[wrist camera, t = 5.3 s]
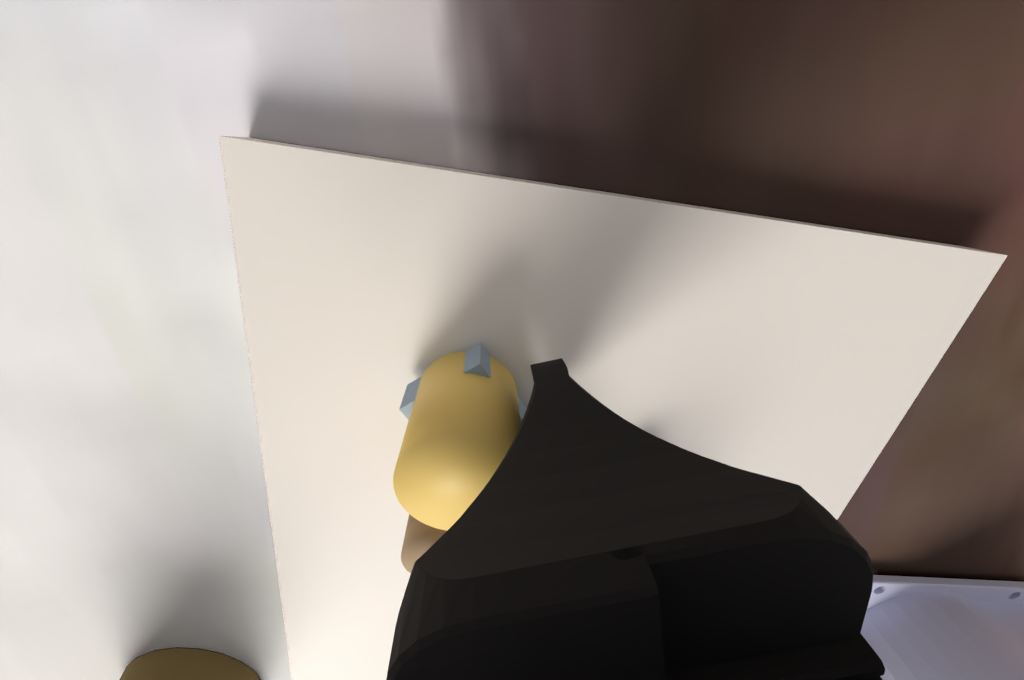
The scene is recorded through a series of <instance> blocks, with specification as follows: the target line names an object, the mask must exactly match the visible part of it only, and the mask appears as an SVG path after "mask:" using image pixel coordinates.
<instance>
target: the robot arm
mask: <svg viewBox="0 0 1024 680" xmlns="http://www.w3.org/2000/svg"><path fill="white" fill-rule="evenodd" d="M530 367H531V371H532V376H533V381H534V386H533V390H532V394H531V397H530V400H529V404H528V407H527V410H526V412H525V415H524V417H523V420H522V422H521V425H520V427H519V430H518V432H517V434H516V436H515V438H514V440H513V442H512V444H511V446H510V448H509V450H508V451H507V453H506V455H505V457H504V458H503V460H502V462H501V463H500V465H499V466H498V468H497V469H496V471H495V473H494V474H493V476H492V477H491V479H490V480H489V482H488V483H487V484H486V486H485V487H484V489H483V490H482V491H481V492H480V494H479V495H478V496H477V497H476V499H475V500H474V501H473V502H472V503H471V505H470V506H469V507H468V508H467V510H466V511H465V512H464V513H463V515H462V516H461V517H460V518H459V519H458V520H457V521H456V522H455V523H454V525H453V526H452V527H451V528H450V529H449V530H448V531H446V532H445V533H444V534H443V535H442V536H441V537H440V538H439V539H438V540H437V541H436V542H435V543H434V544H433V545H432V546H431V547H430V548H429V549H428V550H427V551H426V552H425V553H424V554H423V555H422V556H421V557H420V558H419V559H417V560H416V562H415V563H414V566H413V569H412V572H411V575H410V578H409V581H408V584H407V587H406V590H405V594H404V597H403V600H402V603H401V607H400V610H399V613H398V618H397V622H396V627H395V632H394V638H393V643H392V649H391V655H390V661H389V666H388V672H387V680H1024V582H1019V581H998V580H976V579H954V578H933V577H911V576H889V575H873V571H874V567H873V565H872V563H871V560H870V558H869V556H868V553H867V551H866V550H865V549H864V548H863V547H862V546H861V545H860V544H859V543H858V542H857V541H856V540H855V539H854V538H853V537H852V535H851V534H850V533H849V532H848V531H847V530H846V529H845V528H844V527H843V526H842V525H841V524H840V523H839V522H838V521H837V520H836V519H835V518H834V517H833V516H832V514H831V513H830V512H829V511H828V510H827V509H825V508H824V507H823V506H822V505H821V504H820V503H819V502H818V501H816V500H815V499H814V498H813V497H812V496H811V495H810V494H809V493H808V492H806V491H805V490H804V489H803V488H802V487H801V486H800V485H797V484H793V483H790V482H786V481H782V480H779V479H775V478H771V477H768V476H764V475H760V474H757V473H753V472H749V471H746V470H742V469H738V468H735V467H732V466H729V465H726V464H723V463H721V462H718V461H715V460H712V459H709V458H706V457H703V456H701V455H698V454H695V453H693V452H690V451H688V450H685V449H683V448H680V447H678V446H676V445H674V444H672V443H669V442H667V441H665V440H663V439H660V438H658V437H656V436H654V435H652V434H650V433H648V432H646V431H644V430H642V429H641V428H639V427H637V426H635V425H634V424H632V423H630V422H628V421H627V420H625V419H624V418H622V417H620V416H619V415H617V414H616V413H614V412H613V411H612V410H610V409H609V408H607V407H606V406H605V405H603V404H602V403H601V402H599V401H598V400H597V399H595V398H594V397H593V396H592V395H591V394H589V393H588V392H587V391H586V390H585V389H583V388H582V387H581V386H580V385H579V384H578V383H577V382H576V381H574V380H573V379H572V378H571V377H570V376H569V373H568V368H567V366H566V364H565V362H564V361H563V359H562V358H560V359H556V360H551V361H546V362H541V363H537V364H532V365H530Z"/></svg>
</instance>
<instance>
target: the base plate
mask: <svg viewBox="0 0 1024 680" xmlns="http://www.w3.org/2000/svg"><path fill="white" fill-rule="evenodd" d="M219 140H220V148H221V155H222V162H223V170H224V177H225V185H226V192H227V200H228V207H229V215H230V222H231V230H232V237H233V245H234V252H235V260H236V267H237V275H238V282H239V290H240V297H241V305H242V312H243V320H244V327H245V335H246V342H247V350H248V357H249V365H250V372H251V380H252V387H253V395H254V402H255V409H256V417H257V424H258V432H259V439H260V447H261V454H262V462H263V469H264V477H265V484H266V492H267V499H268V507H269V514H270V522H271V529H272V537H273V544H274V552H275V559H276V567H277V574H278V582H279V589H280V597H281V604H282V612H283V619H284V627H285V634H286V642H287V649H288V656H289V664H290V671H291V679H292V680H387V672H388V666H389V661H390V655H391V649H392V643H393V638H394V632H395V627H396V622H397V618H398V613H399V610H400V607H401V603H402V600H403V597H404V594H405V590H406V587H407V584H408V581H409V578H410V575H411V573H409V572H408V571H407V570H406V569H405V567H404V566H403V564H402V562H401V551H402V546H403V542H404V537H405V532H406V527H407V522H408V517H409V513H408V512H407V511H406V510H405V509H404V508H403V507H402V505H401V504H400V502H399V501H398V499H397V497H396V494H395V491H394V487H393V474H394V470H395V466H396V463H397V459H398V456H399V452H400V449H401V445H402V442H403V438H404V435H405V431H406V427H407V424H408V419H407V418H406V416H405V415H404V414H403V413H402V412H401V411H400V410H399V408H400V405H401V402H402V399H403V396H404V393H405V390H406V387H407V384H409V383H411V382H413V381H414V380H416V379H418V378H420V377H421V376H422V375H423V373H424V372H425V370H426V369H427V368H428V367H429V366H430V365H431V364H432V363H433V362H434V361H436V360H437V359H439V358H441V357H443V356H445V355H448V354H451V353H455V352H461V351H467V350H468V349H470V348H472V347H474V346H475V345H477V344H479V343H481V344H482V345H483V347H484V348H485V349H486V351H487V352H488V354H489V355H490V356H491V357H493V358H495V359H497V360H498V361H500V362H501V363H502V364H503V365H504V366H505V367H506V368H507V369H508V370H509V371H510V373H511V374H512V376H513V378H514V380H515V383H516V387H517V395H518V396H519V397H520V399H521V400H522V402H523V403H524V404H525V406H526V407H528V404H529V400H530V397H531V394H532V390H533V386H534V381H533V376H532V371H531V367H530V365H532V364H537V363H541V362H546V361H551V360H556V359H560V358H562V359H563V361H564V362H565V364H566V366H567V368H568V373H569V376H570V377H571V378H572V379H573V380H574V381H576V382H577V383H578V384H579V385H580V386H581V387H582V388H583V389H585V390H586V391H587V392H588V393H589V394H591V395H592V396H593V397H594V398H595V399H597V400H598V401H599V402H601V403H602V404H603V405H605V406H606V407H607V408H609V409H610V410H612V411H613V412H614V413H616V414H617V415H619V416H620V417H622V418H624V419H625V420H627V421H628V422H630V423H632V424H634V425H635V426H637V427H639V428H641V429H642V430H644V431H646V432H648V433H650V434H652V435H654V436H656V437H658V438H660V439H663V440H665V441H667V442H669V443H672V444H674V445H676V446H678V447H680V448H683V449H685V450H688V451H690V452H693V453H695V454H698V455H701V456H703V457H706V458H709V459H712V460H715V461H718V462H721V463H723V464H726V465H729V466H732V467H735V468H738V469H742V470H746V471H749V472H753V473H757V474H760V475H764V476H768V477H771V478H775V479H779V480H782V481H786V482H790V483H793V484H797V485H800V486H801V487H802V488H803V489H804V490H805V491H806V492H808V493H809V494H810V495H811V496H812V497H813V498H814V499H815V500H816V501H818V502H819V503H820V504H821V505H822V506H823V507H824V508H825V509H827V510H828V511H829V512H830V513H831V514H832V516H833V517H834V518H835V519H836V520H837V519H838V518H839V516H840V515H841V513H842V512H843V510H844V509H845V507H846V505H847V504H848V502H849V501H850V499H851V498H852V496H853V495H854V493H855V491H856V490H857V488H858V487H859V485H860V484H861V482H862V481H863V479H864V478H865V476H866V474H867V473H868V471H869V470H870V468H871V467H872V465H873V464H874V462H875V460H876V459H877V457H878V456H879V454H880V453H881V451H882V450H883V448H884V446H885V445H886V443H887V442H888V440H889V439H890V437H891V436H892V434H893V433H894V431H895V429H896V428H897V426H898V425H899V423H900V422H901V420H902V419H903V417H904V415H905V414H906V412H907V411H908V409H909V408H910V406H911V405H912V403H913V402H914V400H915V398H916V397H917V395H918V394H919V392H920V391H921V389H922V388H923V386H924V384H925V383H926V381H927V380H928V378H929V377H930V375H931V374H932V372H933V370H934V369H935V367H936V366H937V364H938V363H939V361H940V360H941V358H942V357H943V355H944V353H945V352H946V350H947V349H948V347H949V346H950V344H951V343H952V341H953V339H954V338H955V336H956V335H957V333H958V332H959V330H960V329H961V327H962V326H963V324H964V322H965V321H966V319H967V318H968V316H969V315H970V313H971V312H972V310H973V308H974V307H975V305H976V304H977V302H978V301H979V299H980V298H981V296H982V294H983V293H984V291H985V290H986V288H987V287H988V285H989V284H990V282H991V281H992V279H993V277H994V276H995V274H996V273H997V271H998V270H999V268H1000V267H1001V265H1002V263H1003V262H1004V260H1005V259H1006V257H1007V256H1008V255H1003V254H998V253H993V252H988V251H983V250H978V249H973V248H968V247H964V246H958V245H951V244H945V243H938V242H932V241H925V240H918V239H912V238H905V237H899V236H892V235H886V234H879V233H872V232H866V231H859V230H853V229H846V228H840V227H833V226H826V225H820V224H813V223H807V222H800V221H794V220H787V219H780V218H774V217H767V216H761V215H754V214H748V213H741V212H734V211H728V210H721V209H715V208H708V207H702V206H695V205H688V204H682V203H675V202H669V201H662V200H656V199H649V198H642V197H636V196H629V195H623V194H616V193H610V192H603V191H596V190H590V189H583V188H577V187H570V186H564V185H557V184H550V183H544V182H537V181H531V180H524V179H518V178H511V177H504V176H498V175H491V174H485V173H478V172H472V171H465V170H459V169H452V168H445V167H439V166H432V165H426V164H419V163H413V162H406V161H399V160H393V159H386V158H380V157H373V156H367V155H360V154H353V153H347V152H340V151H334V150H327V149H321V148H314V147H307V146H301V145H294V144H288V143H281V142H275V141H268V140H261V139H255V138H248V137H228V136H219Z"/></svg>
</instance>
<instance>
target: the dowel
mask: <svg viewBox="0 0 1024 680" xmlns="http://www.w3.org/2000/svg"><path fill="white" fill-rule="evenodd" d="M445 532H446V530H441V529H437V528H434V527H431V526H428V525H426V524H424V523H422V522H420V521H418V520H417V519H415V518H414V517H412V516H411V515H410V514H409V517H408V522H407V527H406V532H405V537H404V542H403V546H402V551H401V562H402V564H403V566H404V567H405V569H406V570H407V571H408V572H409V573H411V572H412V569H413V566H414V563H415V562H416V560H417V559H419V558H420V557H421V556H422V555H423V554H424V553H425V552H426V551H427V550H428V549H429V548H430V547H431V546H432V545H433V544H434V543H435V542H436V541H437V540H438V539H439V538H440V537H441V536H442V535H443V534H444V533H445Z"/></svg>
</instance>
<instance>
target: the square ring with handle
mask: <svg viewBox="0 0 1024 680" xmlns="http://www.w3.org/2000/svg"><path fill="white" fill-rule="evenodd" d="M399 410H400V411H401V412H402V413H403V414H404V415H405V416H406V418H407V419H408V424H407V427H406V431H405V435H404V438H403V442H402V445H401V449H400V452H399V456H398V459H397V463H396V466H395V470H394V474H393V487H394V491H395V494H396V497H397V499H398V501H399V502H400V504H401V505H402V507H403V508H404V509H405V510H406V511H407V512H408V513H409V514H410V515H411V516H412V517H414V518H415V519H417V520H418V521H420V522H422V523H424V524H426V525H428V526H431V527H434V528H437V529H441V530H446V531H448V530H449V529H450V528H451V527H452V526H453V525H454V523H455V522H456V521H457V520H458V519H459V518H460V517H461V516H462V515H463V513H464V512H465V511H466V510H467V508H468V507H469V506H470V505H471V503H472V502H473V501H474V500H475V499H476V497H477V496H478V495H479V494H480V492H481V491H482V490H483V489H484V487H485V486H486V484H487V483H488V482H489V480H490V479H491V477H492V476H493V474H494V473H495V471H496V469H497V468H498V466H499V465H500V463H501V462H502V460H503V458H504V457H505V455H506V453H507V451H508V450H509V448H510V446H511V444H512V442H513V440H514V438H515V436H516V434H517V432H518V430H519V427H520V425H521V422H522V420H523V417H524V415H525V412H526V410H527V407H526V406H525V404H524V403H523V402H522V400H521V399H520V397H519V396H518V395H517V387H516V383H515V380H514V378H513V376H512V374H511V373H510V371H509V370H508V369H507V368H506V367H505V366H504V365H503V364H502V363H501V362H500V361H498V360H497V359H495V358H493V357H491V356H490V355H489V354H488V352H487V351H486V349H485V348H484V347H483V345H482V344H481V343H479V344H477V345H475V346H474V347H472V348H470V349H468V350H467V351H461V352H455V353H451V354H448V355H445V356H443V357H441V358H439V359H437V360H436V361H434V362H433V363H432V364H431V365H430V366H429V367H428V368H427V369H426V370H425V372H424V373H423V375H422V376H421V377H420V378H418V379H416V380H414V381H413V382H411V383H409V384H407V387H406V390H405V393H404V396H403V399H402V402H401V405H400V408H399Z"/></svg>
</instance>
